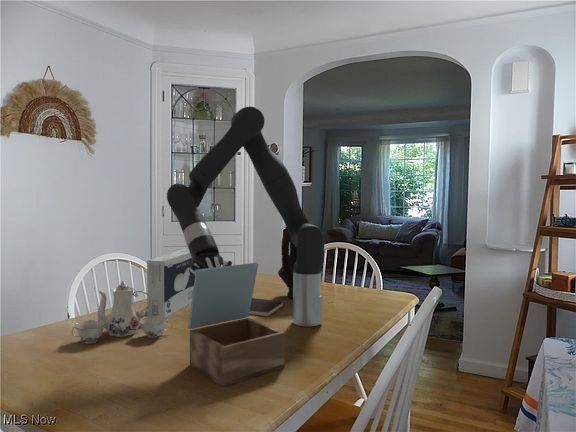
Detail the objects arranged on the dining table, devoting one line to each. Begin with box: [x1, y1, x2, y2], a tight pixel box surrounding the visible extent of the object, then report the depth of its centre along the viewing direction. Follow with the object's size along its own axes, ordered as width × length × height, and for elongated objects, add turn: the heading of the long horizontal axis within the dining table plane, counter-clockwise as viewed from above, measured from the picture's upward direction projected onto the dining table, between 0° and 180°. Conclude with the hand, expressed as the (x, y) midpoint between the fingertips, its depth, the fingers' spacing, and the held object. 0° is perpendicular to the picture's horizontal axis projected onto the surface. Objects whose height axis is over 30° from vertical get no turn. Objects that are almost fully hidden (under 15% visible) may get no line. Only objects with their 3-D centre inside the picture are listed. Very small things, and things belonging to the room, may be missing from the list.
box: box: [189, 317, 286, 387], centre depth 115 cm, size 16×18×9 cm
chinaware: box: [71, 280, 173, 345], centre depth 137 cm, size 28×17×17 cm, turn 114°
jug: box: [277, 226, 323, 299], centre depth 188 cm, size 21×18×30 cm
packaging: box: [146, 248, 195, 318], centre depth 169 cm, size 30×6×20 cm, turn 168°
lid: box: [187, 262, 259, 330], centre depth 119 cm, size 16×18×1 cm
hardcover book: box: [249, 297, 285, 317], centre depth 171 cm, size 16×23×2 cm
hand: (222, 294), depth 120 cm, fingers closed
